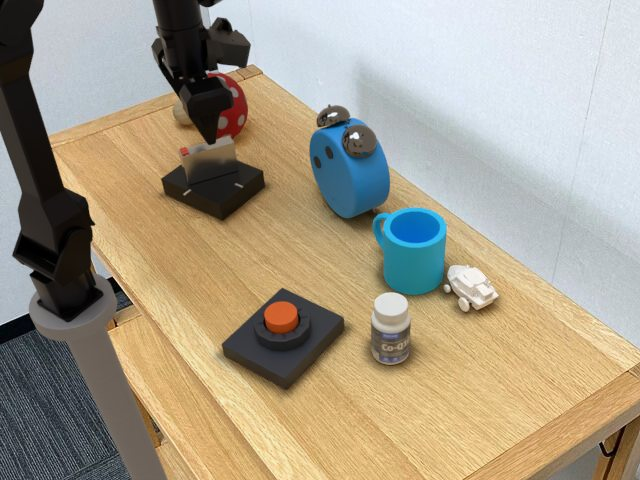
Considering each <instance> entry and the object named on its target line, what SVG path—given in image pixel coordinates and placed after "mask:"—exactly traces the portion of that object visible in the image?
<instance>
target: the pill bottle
mask: <svg viewBox="0 0 640 480" xmlns="http://www.w3.org/2000/svg"><path fill="white" fill-rule="evenodd" d="M411 324H412V316H411V313H410V311H409V301H408V299H407V298H406V297H405V296H404V295H402V293H399V292H394V291H393V292H390V291H389V292H384V293H382V294H380V295H378V296H377V297H376V298H375V300H374V302H373V311H372V313H371V316H370V339H371V340H370V346H371V347H370V349H371V354H372V356H373V358H374V359H375V360H376V361H377V362H379V363H381V364H383V365H388V366H392V365H398V364H401V363H403V362H404V361H406V359H407V358H408V357H409V354H410V350H411V349H410V346H411V326H412V325H411Z"/></svg>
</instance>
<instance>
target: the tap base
mask: <svg viewBox="0 0 640 480" xmlns="http://www.w3.org/2000/svg"><path fill="white" fill-rule="evenodd" d="M239 156H240V154H239V153H236V157H237V158H238V157H239ZM237 163H238V169H239V170H238V171H235V172H232V173H228V174H225V175H221V176H218V177H215V178H211V179H208V180H204V181H201V182H197V183H194V184H191V185H188V183H187V181H186V179H185V176H184V172H183V168H182V164H181V163H180V165H178V166H177V167H175V168H174V169H172V170H171V171H170V172H168V173H167V174H165V175H164V176H162V177H161V178H160V180H161V184H162V188H163V191H164V196H167V197H170V198H172V199H174V200H176V201H178V202H180V203H183V204H185V205H187V206H188V207H191V208H194V209H195V210H198V211H199V212H200V211H201V212H202V213H204V214H207V215H209V216H211V217H213V218H215V219H217V220H219V221H225V220H226V219H227V218H229V217H230V216H231V215H233V214H234V213H235V212H236V211H237V210H239V209H240V208H241V207H243V206H244V205H245V204H246V203H247V202H249V201H250V200H251V199H252V198H253V197H254V196H256V195H257V194H259V193H260V192H261V191H262V190H263V189H264V188H266V181H265V174H264V170H262V169H260V168H257V167H255V166H252V165H250V164H247V163H245V162H243V161H241V160H238V159H237Z"/></svg>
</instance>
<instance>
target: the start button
mask: <svg viewBox="0 0 640 480" xmlns="http://www.w3.org/2000/svg"><path fill="white" fill-rule="evenodd" d="M264 316H265V322H266V327H267V329H268V330H269V331H270V332H272V333H275V334H286V333H289V332H292V331H293V330H294V329H295V328H296V327H297V325H298V314H297V309H296V307H295V306H294V305H293V304H291V303H289V302H283V301H282V302H276V303H273V304H271V305H270V306H268V307H267V309H266V310H265V313H264Z"/></svg>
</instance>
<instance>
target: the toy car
mask: <svg viewBox="0 0 640 480" xmlns="http://www.w3.org/2000/svg"><path fill="white" fill-rule="evenodd" d="M446 276H447V279H448V281H449V283H450V285H449V284H447V283H446V284H444V285H443V290H444V292H445V293H446V294H448V293H450V292H451V289H452V291H453V292H454V293H455V294H456V295H457V296H458V297H459V299H458V300H457V302H458V306H459V309H461V311H462V312H466V313H467V312H469V311H470V304H471V307H472V308H474V309H475V310H476V311H479V310H480V309H483V308H484V307H486V306H488V305H491V304H492V303H493V302H494V300H496V299H497V298H498V297H499V296H500V295H499V294H498V293H497V292H496V291H497V290H496V289H495V287H494V286H493V285H492V281H491V280H489V278H488V277H487V276H486V275H485V274H484V273H483V272H482V270H480V269H479V268H477V267H476V266H475V267H470V266H469V264H466V265H462V264H452V265H450V266H449V269H448V271H447V275H446Z"/></svg>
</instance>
